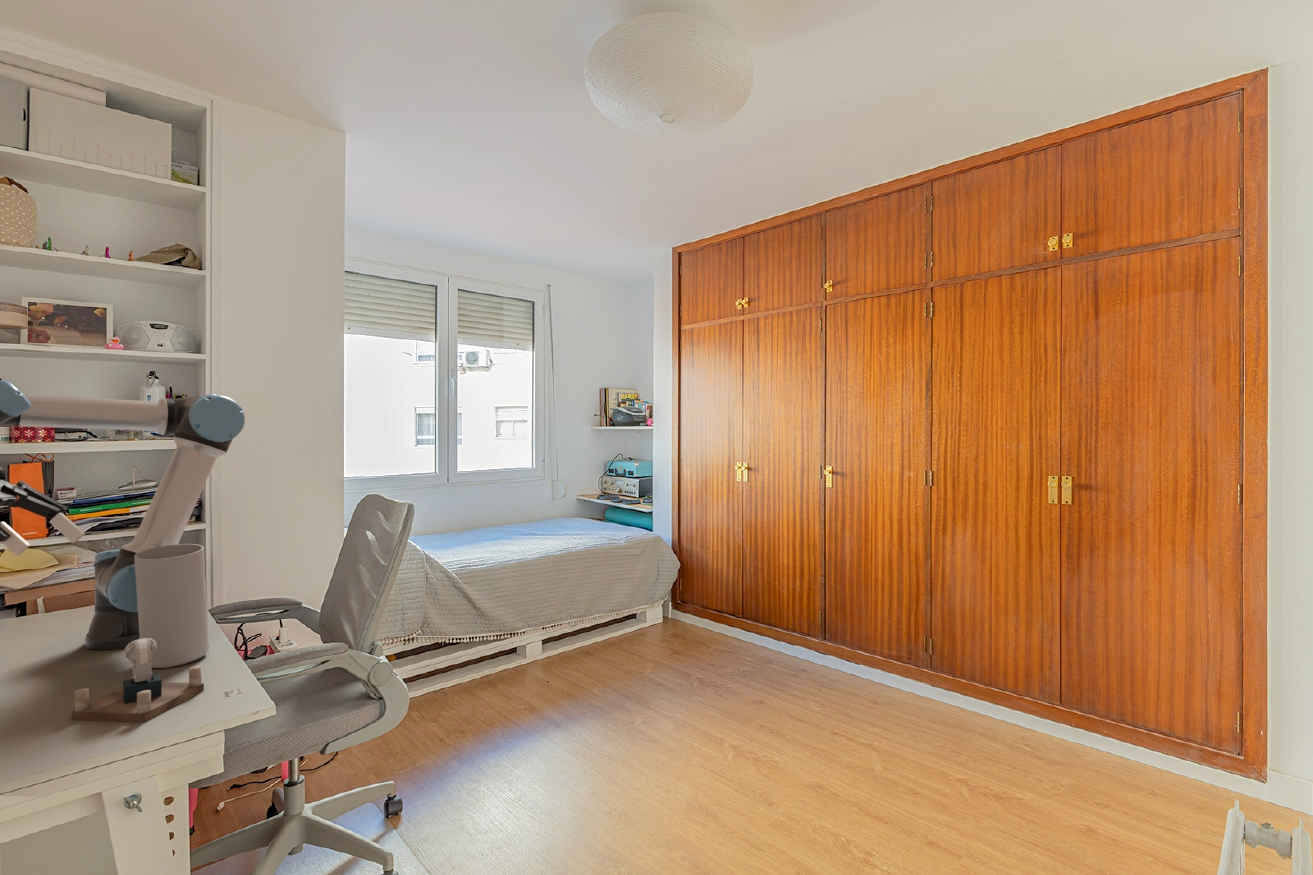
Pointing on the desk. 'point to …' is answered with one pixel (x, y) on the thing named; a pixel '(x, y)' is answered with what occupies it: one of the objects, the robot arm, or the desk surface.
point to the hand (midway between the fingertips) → (52, 544)
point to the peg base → (143, 707)
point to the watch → (141, 670)
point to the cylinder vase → (173, 602)
